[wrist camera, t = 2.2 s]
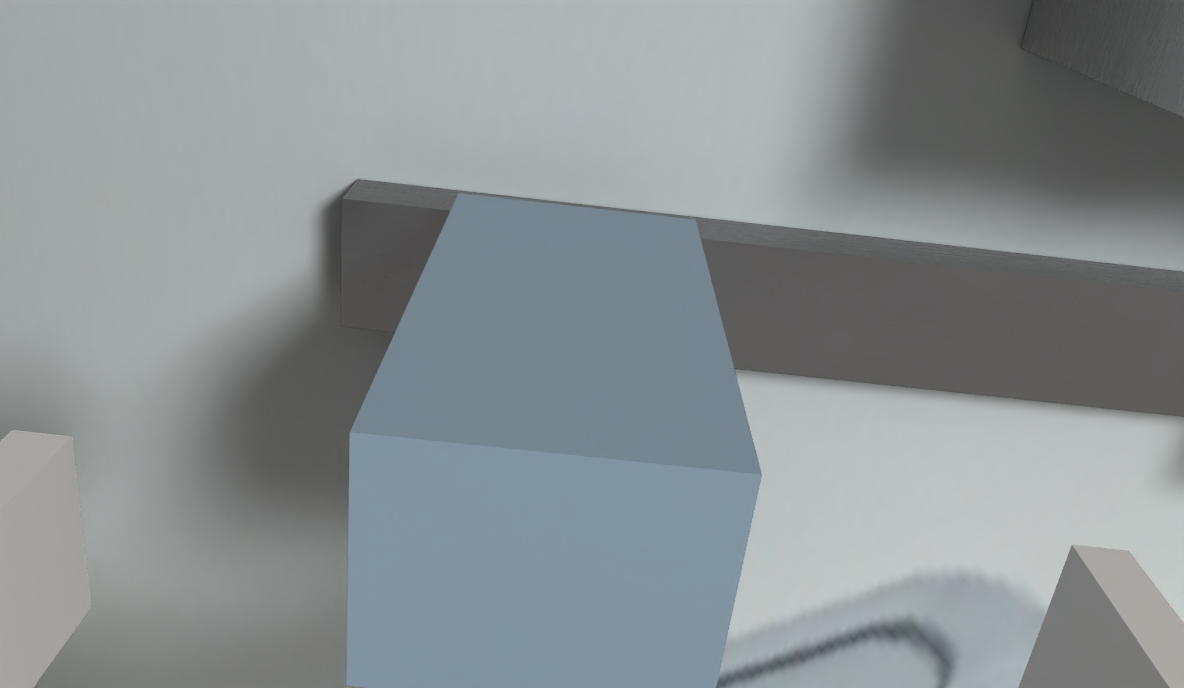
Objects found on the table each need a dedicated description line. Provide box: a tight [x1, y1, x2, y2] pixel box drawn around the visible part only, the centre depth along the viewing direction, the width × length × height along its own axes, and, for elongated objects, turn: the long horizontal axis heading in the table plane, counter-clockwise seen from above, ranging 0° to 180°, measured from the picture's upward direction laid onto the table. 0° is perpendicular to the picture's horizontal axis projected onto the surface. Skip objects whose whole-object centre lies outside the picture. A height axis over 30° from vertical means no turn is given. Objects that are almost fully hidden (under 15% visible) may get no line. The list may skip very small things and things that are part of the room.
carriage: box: [346, 193, 762, 688], centre depth 18 cm, size 5×4×10 cm
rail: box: [341, 179, 1184, 417], centre depth 22 cm, size 24×4×4 cm, turn 84°
